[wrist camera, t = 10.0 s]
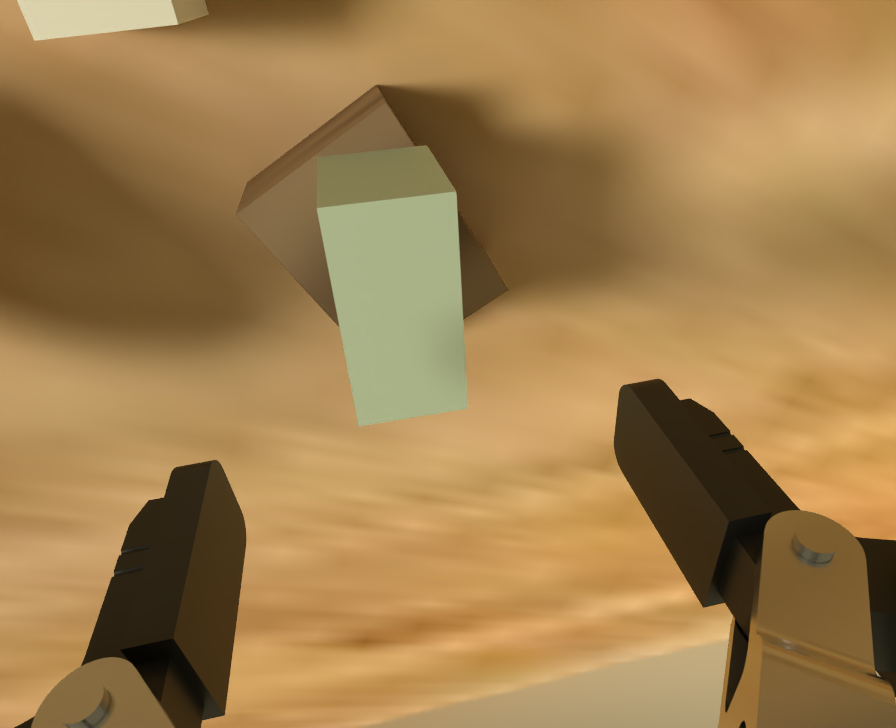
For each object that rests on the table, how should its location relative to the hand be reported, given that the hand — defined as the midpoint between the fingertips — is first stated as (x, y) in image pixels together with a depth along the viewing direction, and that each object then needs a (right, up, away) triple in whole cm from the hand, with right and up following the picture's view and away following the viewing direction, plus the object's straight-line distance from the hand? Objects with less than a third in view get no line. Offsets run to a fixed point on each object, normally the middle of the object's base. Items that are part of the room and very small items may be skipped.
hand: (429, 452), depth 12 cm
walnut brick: (-3, +8, +12) cm, 15 cm away
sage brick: (-2, +6, +9) cm, 11 cm away
